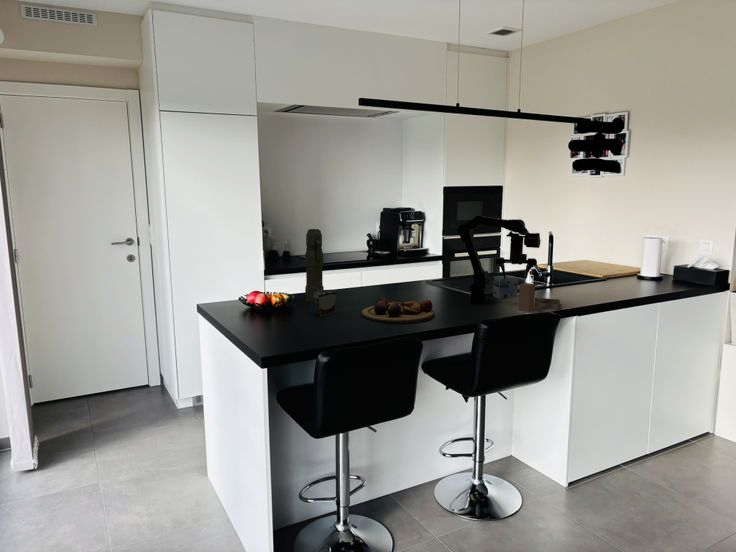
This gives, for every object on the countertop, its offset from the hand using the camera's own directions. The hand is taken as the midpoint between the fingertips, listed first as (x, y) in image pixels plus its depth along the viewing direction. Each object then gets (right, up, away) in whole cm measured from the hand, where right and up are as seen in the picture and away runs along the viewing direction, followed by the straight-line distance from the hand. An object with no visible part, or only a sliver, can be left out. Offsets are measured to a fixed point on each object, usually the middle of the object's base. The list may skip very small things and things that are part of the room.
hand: (514, 279), depth 264 cm
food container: (-89, -15, -14) cm, 92 cm away
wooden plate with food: (-56, -16, -16) cm, 60 cm away
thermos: (-95, -11, +11) cm, 96 cm away
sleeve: (+16, -13, +1) cm, 21 cm away
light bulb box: (+1, -9, +23) cm, 25 cm away
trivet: (+3, -15, -8) cm, 17 cm away
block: (+3, -14, -9) cm, 17 cm away
